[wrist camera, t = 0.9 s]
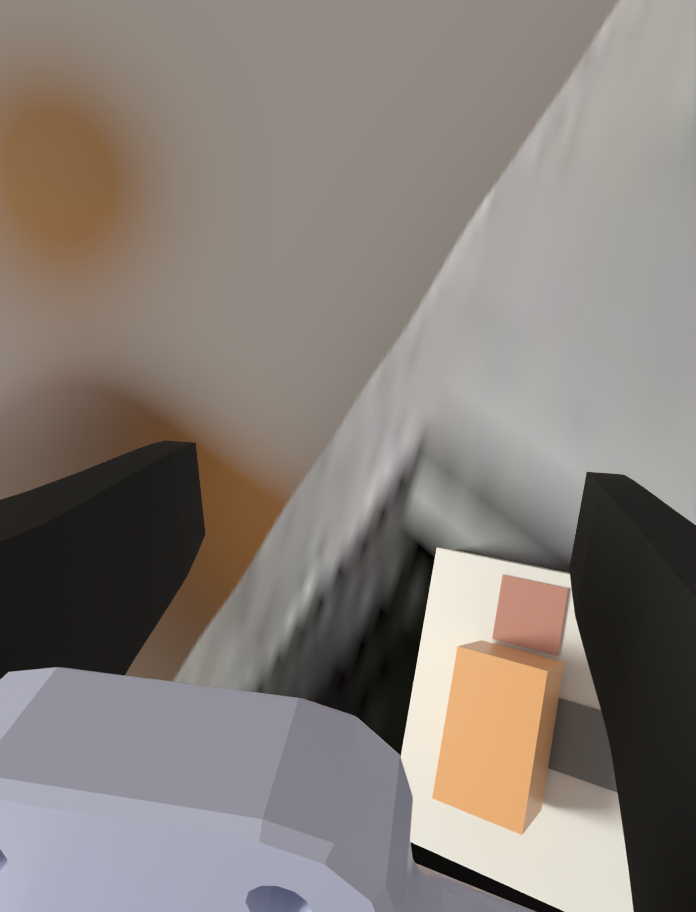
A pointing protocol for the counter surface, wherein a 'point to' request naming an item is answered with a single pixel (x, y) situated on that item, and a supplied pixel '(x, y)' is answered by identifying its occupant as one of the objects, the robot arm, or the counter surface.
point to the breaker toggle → (498, 733)
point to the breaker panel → (572, 752)
